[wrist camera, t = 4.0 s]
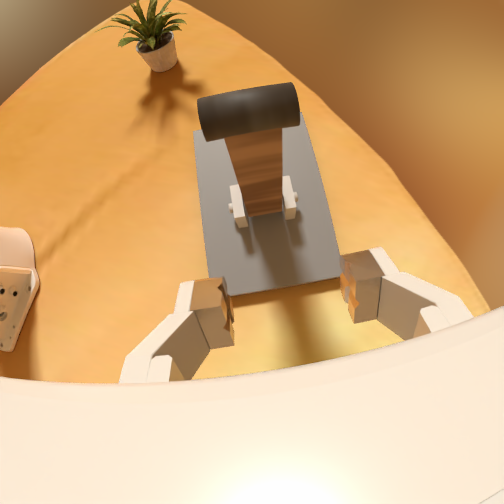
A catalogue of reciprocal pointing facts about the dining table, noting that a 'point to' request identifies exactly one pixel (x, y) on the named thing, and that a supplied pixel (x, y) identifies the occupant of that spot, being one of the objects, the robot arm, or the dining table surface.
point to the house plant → (153, 36)
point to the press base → (266, 221)
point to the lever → (253, 138)
